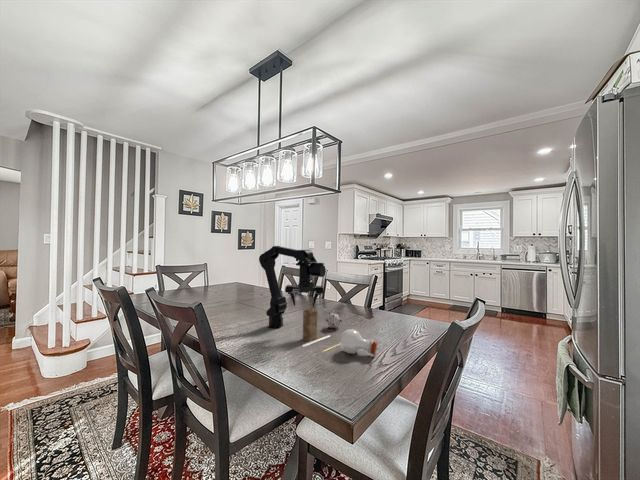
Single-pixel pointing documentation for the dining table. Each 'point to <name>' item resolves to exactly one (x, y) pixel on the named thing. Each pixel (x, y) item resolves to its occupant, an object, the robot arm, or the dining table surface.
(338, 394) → the dining table surface
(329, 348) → the strip
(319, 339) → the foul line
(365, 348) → the potion bottle
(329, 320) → the game die
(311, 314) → the walnut block
